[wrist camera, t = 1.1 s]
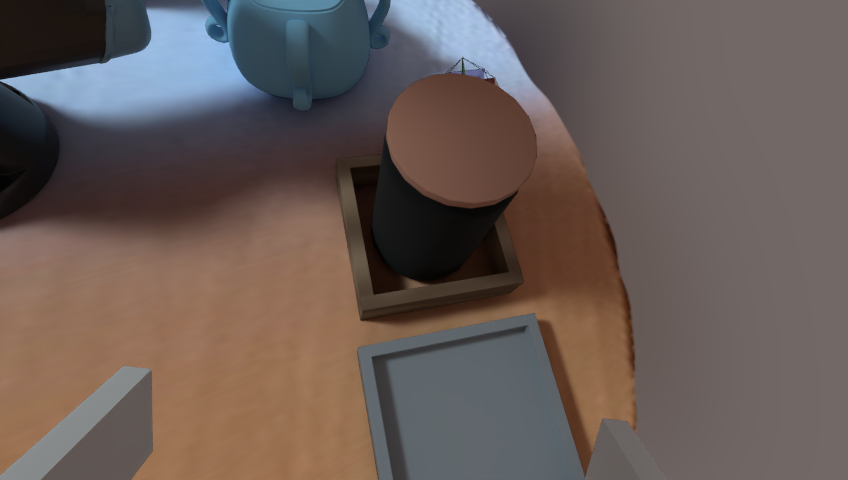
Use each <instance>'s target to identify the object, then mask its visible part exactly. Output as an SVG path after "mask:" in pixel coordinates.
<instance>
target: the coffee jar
mask: <svg viewBox="0 0 848 480" xmlns="http://www.w3.org/2000/svg"><path fill="white" fill-rule="evenodd" d="M536 157H537V145H536V134H535V132H534V129H533V126H532V124H531V121H530V119H529V116H528V115H527V114H526V112H525V111H524V110H523V109H522V107H521V106H520V105H519V104H518V102H517V101H516V100H515V99H514V98H513V97H512V96H510V95H509V94H508V93H506V92H505V91H504V90H502V89H501V88H500V87H498V86H497V85H495V84H492V83H490V82H488V81H485V80H483V79H481V78H478V77H475V76H469V75H463V74H458V73H449V74H438V75H432V76H429V77H426V78H424V79H421V80H419V81H416V82H414V83H413V84H411V85H410V86H409V87H408V88H407V89H406V90H404V91H403V92H402V93H401V94H400V95H399V96H398V97H397V99H396V101H395V103H394V105H393V106H392V108H391V110H390V112H389V115H388V124H387V133H386V135H385V139H384V146H383V152H382V159H381V165H380V172H379V178H378V185H377V191H376V198H375V204H374V211H373V217H372V226H371V234H372V239H373V243H374V247H375V249H376V250H377V252H378V254H379V255H380V257H381V258H382V260H383V261H384V262H385V263H386V264H387V265H388V266H390V267H391V268H392V269H393V270H394V271H395V272H397V273H399V274H402V275H404V276H406V277H409V278H411V279H418V280H427V281H430V280H435V279H440V278H444V277H446V276H448V275H450V274H452V273H453V272H455V271H457V270H459V268H460V267H461V266H462V265H463V264H464V263H465V261H466V260H467V259H468V258H469V256H470V255H471V254H472V253H473V251H474V250H475V249H476V247H477V246H478V245H479V243H480V242H481V241H482V239H483V238H484V237H485V235H486V234H487V233H488V231H489V230H490V229H491V227H492V226H493V225H494V223H495V222H496V221H497V219H498V218H499V217H500V215H501V214H502V213H503V211H504V210H505V209H506V207H507V206H508V205H509V203H510V202H511V201H512V199H513V198H514V197H515V195H516V194H517V192H518V189H519V188H520V187H521V185H522V184H523V183H524V182H525V181H526V180H527V178H528V177H529V176H530V175H531V172H532V169H533V166H534V163H535V160H536Z"/></svg>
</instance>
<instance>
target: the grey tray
mask: <svg viewBox="0 0 848 480" xmlns="http://www.w3.org/2000/svg"><path fill="white" fill-rule="evenodd" d="M357 355H358V361H359V367H360V373H361V379H362V385H363V391H364V397H365V403H366V409H367V415H368V421H369V427H370V433H371V439H372V445H373V451H374V457H375V463H376V469H377V475H378V480H585V476H584V472H583V469H582V466H581V462H580V459H579V456H578V453H577V449H576V446H575V443H574V440H573V436H572V433H571V430H570V427H569V423H568V420H567V417H566V414H565V410H564V407H563V404H562V401H561V397H560V394H559V391H558V388H557V384H556V381H555V378H554V375H553V371H552V368H551V365H550V361H549V358H548V355H547V352H546V348H545V345H544V342H543V339H542V335H541V332H540V329H539V326H538V322H537V319H536V316H535V313H531V314H526V315H521V316H516V317H511V318H506V319H501V320H496V321H490V322H485V323H480V324H475V325H470V326H465V327H460V328H455V329H449V330H444V331H439V332H434V333H429V334H424V335H419V336H414V337H409V338H403V339H398V340H393V341H388V342H383V343H378V344H373V345H368V346H363V347H358V349H357Z"/></svg>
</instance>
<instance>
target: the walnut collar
mask: <svg viewBox="0 0 848 480" xmlns="http://www.w3.org/2000/svg"><path fill="white" fill-rule="evenodd" d="M381 159H382V154H377V155H367V156H356V157H346V158H336V182H337V188H338V193H339V199H340V205H341V211H342V216H343V222H344V228H345V234H346V240H347V245H348V251H349V257H350V263H351V269H352V274H353V280H354V286H355V292H356V297H357V303H358V309H359V315H360V321H361V320H366V319H372V318H377V317H383V316H388V315H394V314H399V313H405V312H410V311H416V310H421V309H427V308H432V307H438V306H443V305H449V304H454V303H460V302H465V301H471V300H476V299H482V298H487V297H493V296H498V295H504V294H509V293H511V292H512V291H514V290H515V289H516V288H517V287H519V286H520V285H521V284H522V283H524V279H523V276H522V273H521V270H520V266H519V263H518V260H517V257H516V253H515V250H514V247H513V244H512V240H511V237H510V234H509V230H508V227H507V224H506V221H505V217H504V214H503V213H502V214H501V215H500V217H499V218H498V219H497V221H496V222H495V223H494V225H493V226H492V227H491V229H490V230H489V231H488V233H487V234H486V235H485V237H484V238H483V240H484V244H485V247H486V251H487V254H488V258H489V262H490V265H491V269H492V272H493V275H489V276H483V277H477V278H471V279H465V280H459V281H453V282H447V283H441V284H436V285H430V286H424V287H418V288H412V289H406V290H400V291H394V292H388V293H383V294H377V295H374V294H373V289H372V284H371V278H370V273H369V267H368V262H367V257H366V251H365V246H364V241H363V235H362V230H361V225H360V219H359V214H358V208H357V203H356V198H355V192H354V187H358V186H367V185H376V184H378V178H379V172H380V165H381Z"/></svg>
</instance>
